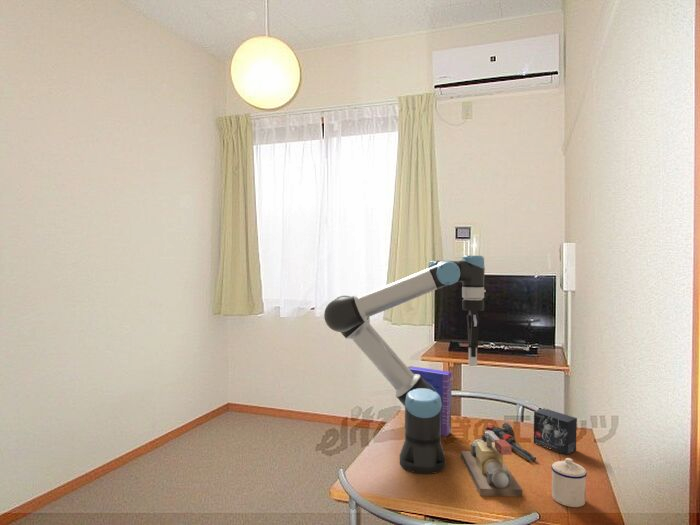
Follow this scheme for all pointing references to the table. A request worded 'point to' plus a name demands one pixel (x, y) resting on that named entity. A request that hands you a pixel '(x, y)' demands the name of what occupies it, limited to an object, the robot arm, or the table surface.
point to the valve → (508, 439)
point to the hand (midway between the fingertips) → (472, 365)
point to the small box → (555, 431)
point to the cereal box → (439, 392)
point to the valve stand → (489, 470)
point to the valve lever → (499, 443)
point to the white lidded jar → (568, 483)
